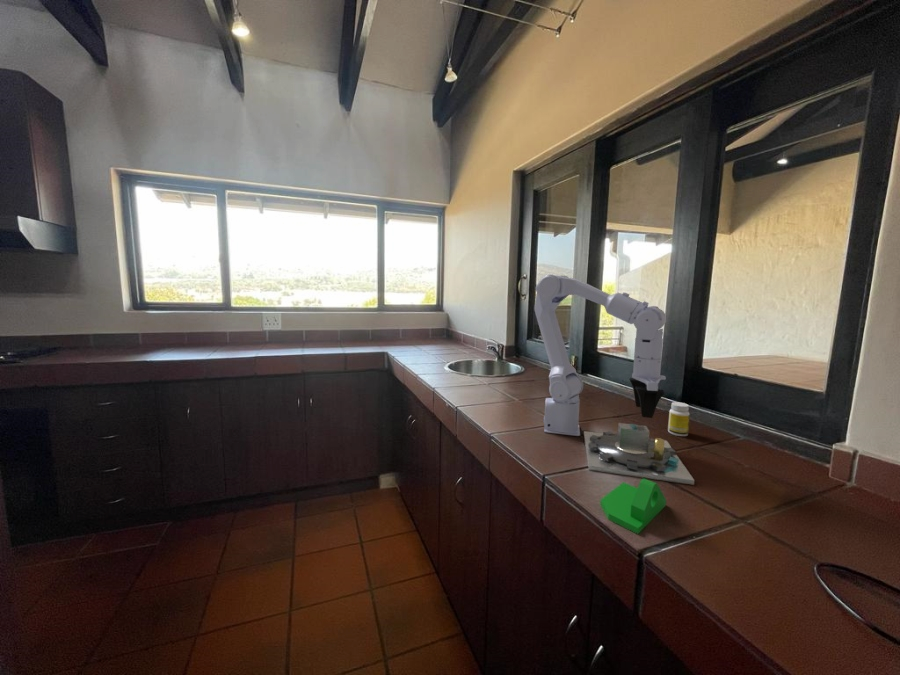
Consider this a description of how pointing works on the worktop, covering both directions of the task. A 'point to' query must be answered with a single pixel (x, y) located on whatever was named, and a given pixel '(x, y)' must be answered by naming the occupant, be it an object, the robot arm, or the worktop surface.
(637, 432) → the link block
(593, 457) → the base plate
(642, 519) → the bracket
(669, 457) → the sprocket
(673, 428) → the supplement bottle
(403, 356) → the worktop surface
